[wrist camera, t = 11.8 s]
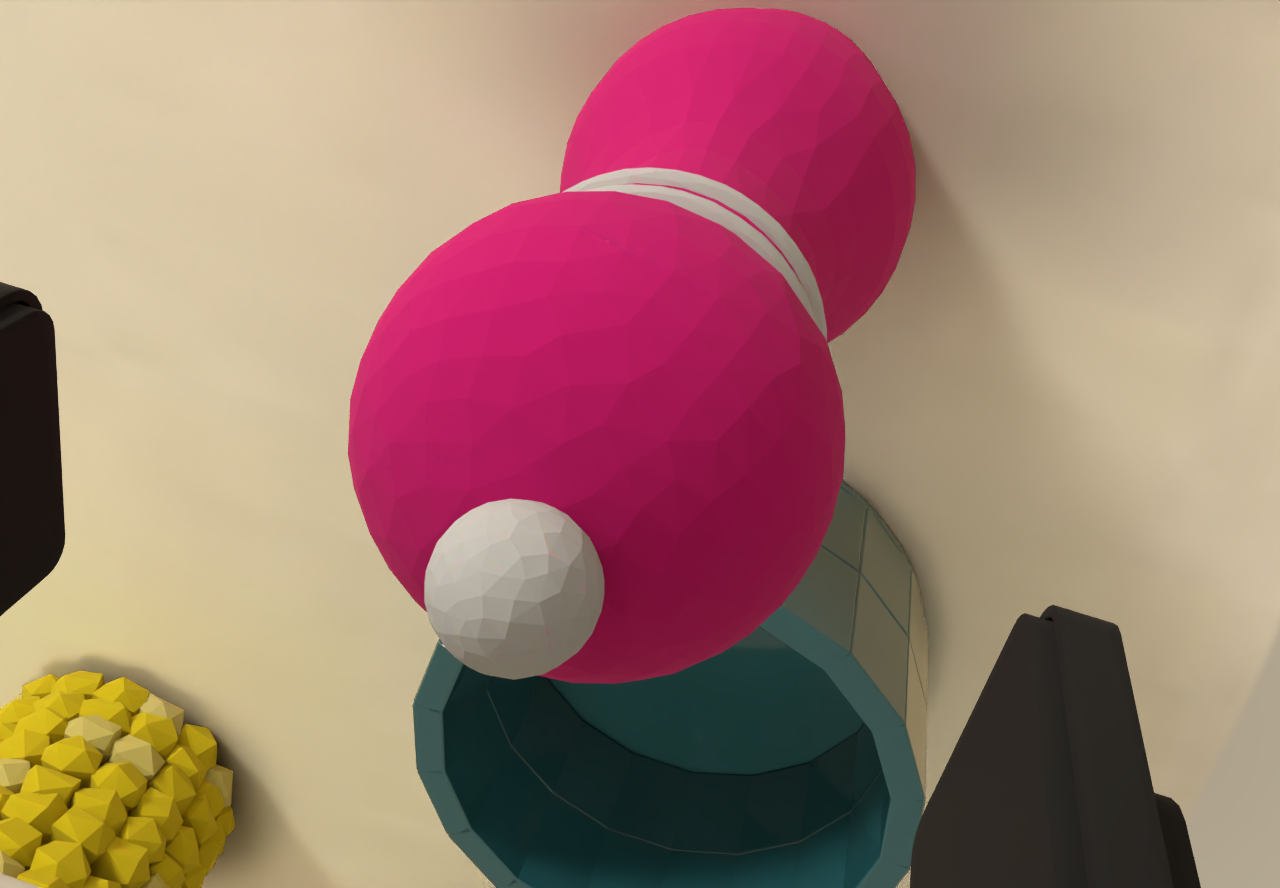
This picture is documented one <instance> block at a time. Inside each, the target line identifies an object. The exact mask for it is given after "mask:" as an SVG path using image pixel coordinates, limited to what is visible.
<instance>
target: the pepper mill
mask: <svg viewBox="0 0 1280 888" xmlns="http://www.w3.org/2000/svg"><path fill="white" fill-rule="evenodd" d="M914 204H915V161H914V157H913V152H912V147H911V142H910V137H909V132H908V130H907V127H906V125H905V122H904V120H903V117H902V115H901V112H900V110H899V107H898V105H897V103H896V102H895V100H894V98H893V97H892V95H891V93H890V92H889V90H888V88H887V87H886V85H885V84H884V82H883V80H882V79H881V77H880V75H879V74H878V72H877V71H876V69H875V68H874V66H873V65H872V63H871V62H870V61H869V59H868V58H867V57H866V55H865V54H864V53H863V52H862V51H861V50H860V49H859V48H858V47H857V46H856V45H855V44H854V43H853V42H852V41H851V40H850V39H849V38H848V37H846V36H845V35H844V34H842V33H841V32H839V31H838V30H837V29H835V28H833V27H832V26H830V25H828V24H826V23H825V22H822V21H819V20H817V19H814V18H812V17H809V16H806V15H803V14H800V13H798V12H793V11H788V10H780V9H756V8H735V9H717V10H712V11H708V12H703V13H699V14H694V15H690V16H687V17H684V18H682V19H680V20H677V21H675V22H672V23H670V24H667V25H665V26H662V27H661V28H659V29H658V30H656V31H654V32H653V33H651V34H650V35H648V36H646V37H645V38H643V39H642V40H640V41H638V42H637V43H636V44H635V45H634V46H633V47H632V48H631V49H629V50H628V51H627V52H626V53H625V54H624V55H623V56H621V57H620V58H619V59H618V60H617V61H616V62H615V64H614V65H613V66H612V67H611V69H610V70H609V71H608V72H607V74H606V75H605V76H604V77H603V79H602V80H601V81H600V82H599V84H598V85H597V86H596V88H595V89H594V90H593V92H592V93H591V94H590V96H589V98H588V100H587V101H586V103H585V105H584V106H583V108H582V110H581V112H580V113H579V115H578V117H577V119H576V122H575V124H574V127H573V130H572V132H571V135H570V137H569V140H568V143H567V148H566V153H565V158H564V163H563V169H562V174H561V187H560V193H558V194H553V195H549V196H544V197H540V198H535V199H531V200H526V201H522V202H517V203H513V204H510V205H508V206H507V207H505V208H503V209H501V210H499V211H497V212H495V213H493V214H491V215H489V216H487V217H485V218H483V219H481V220H479V221H477V222H475V223H473V224H472V225H470V226H469V227H467V228H466V229H464V230H463V231H462V232H460V233H459V234H457V235H456V236H454V237H453V238H452V239H450V240H449V241H447V242H446V243H444V244H443V245H442V246H440V247H439V248H437V249H436V250H434V251H433V252H432V253H430V255H429V256H428V257H427V258H426V259H425V260H424V261H423V262H422V263H421V265H420V266H419V267H418V268H417V269H416V270H415V271H414V272H413V274H412V275H411V276H410V277H409V278H408V279H407V280H406V281H405V282H404V284H403V285H402V286H401V287H400V288H399V289H398V291H397V292H396V294H395V295H394V297H393V299H392V300H391V302H390V303H389V305H388V306H387V308H386V310H385V311H384V313H383V314H382V316H381V318H380V319H379V321H378V323H377V325H376V327H375V330H374V332H373V334H372V336H371V339H370V341H369V343H368V345H367V348H366V350H365V352H364V354H363V357H362V359H361V361H360V365H359V369H358V373H357V376H356V380H355V384H354V388H353V391H352V395H351V399H350V421H349V443H348V456H349V461H350V467H351V473H352V479H353V484H354V489H355V492H356V495H357V498H358V501H359V504H360V506H361V509H362V512H363V515H364V518H365V521H366V523H367V526H368V529H369V532H370V534H371V536H372V538H373V540H374V541H375V543H376V545H377V547H378V549H379V551H380V552H381V554H382V556H383V558H384V560H385V562H386V563H387V565H388V567H389V569H390V570H391V571H392V573H393V574H394V575H395V576H396V578H397V579H398V580H399V581H400V583H401V584H402V585H403V586H404V588H405V589H406V590H407V591H408V593H409V594H410V595H411V596H412V598H413V599H414V600H415V601H416V602H417V603H418V604H419V605H420V606H421V607H422V608H423V609H424V610H425V611H426V612H427V614H428V617H429V621H430V624H431V625H432V627H433V629H434V631H435V632H436V634H437V635H438V637H439V638H440V640H441V641H442V643H443V644H444V646H445V647H446V649H447V650H448V651H449V652H450V653H451V654H452V655H453V656H454V657H455V658H456V659H458V660H459V661H461V662H462V663H463V664H465V665H466V666H468V667H470V668H472V669H474V670H475V671H477V672H479V673H482V674H485V675H490V676H496V677H501V678H507V679H513V680H515V679H521V678H526V677H532V676H542V677H547V678H552V679H556V680H561V681H566V682H571V683H607V684H616V683H623V682H630V681H637V680H644V679H649V678H654V677H659V676H664V675H669V674H674V673H676V672H678V671H681V670H683V669H685V668H688V667H690V666H692V665H695V664H697V663H699V662H701V661H704V660H706V659H708V658H711V657H713V656H715V655H718V654H720V653H722V652H724V651H725V650H727V649H728V648H730V647H731V646H733V645H734V644H736V643H737V642H739V641H740V640H742V639H743V638H745V637H747V636H748V635H750V634H751V633H752V632H753V631H754V630H755V629H756V628H757V627H758V626H759V625H760V624H762V623H763V622H764V621H765V620H766V619H767V618H768V617H769V616H770V615H771V614H773V613H774V612H775V611H776V610H777V609H778V608H779V607H780V606H781V605H782V604H783V603H784V601H785V600H786V599H787V598H788V596H789V595H790V594H791V593H792V591H793V590H794V589H795V588H796V586H797V585H798V584H799V582H800V581H801V579H802V578H803V576H804V575H805V573H806V571H807V570H808V568H809V567H810V565H811V563H812V562H813V560H814V559H815V557H816V555H817V553H818V551H819V549H820V546H821V544H822V542H823V539H824V537H825V535H826V532H827V530H828V528H829V525H830V523H831V521H832V517H833V513H834V509H835V505H836V502H837V498H838V494H839V490H840V486H841V482H842V478H843V470H844V451H845V421H844V410H843V399H842V390H841V387H840V384H839V381H838V377H837V374H836V371H835V368H834V364H833V361H832V358H831V354H830V351H829V348H828V345H827V343H828V342H830V341H831V340H833V339H835V338H836V337H838V336H839V335H841V334H842V333H844V332H845V331H846V330H847V329H848V328H849V327H850V326H851V325H853V324H854V323H855V322H856V321H857V320H858V319H859V318H861V317H862V316H863V315H864V314H865V313H866V312H867V311H868V309H869V308H870V307H871V306H872V304H873V303H874V302H875V301H876V299H877V298H878V297H879V296H880V294H881V293H882V292H883V290H884V288H885V286H886V285H887V283H888V281H889V279H890V278H891V276H892V274H893V272H894V271H895V269H896V266H897V263H898V261H899V258H900V255H901V252H902V250H903V247H904V244H905V241H906V238H907V235H908V233H909V230H910V227H911V221H912V216H913V210H914Z"/></svg>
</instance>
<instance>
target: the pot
mask: <svg viewBox="0 0 1280 888" xmlns="http://www.w3.org/2000/svg"><path fill="white" fill-rule="evenodd" d="M927 687H928V630H927V626H926V622H925V616H924V610H923V604H922V598H921V592H920V589H919V586H918V583H917V580H916V577H915V574H914V571H913V568H912V566H911V564H910V562H909V560H908V558H907V556H906V554H905V552H904V550H903V548H902V546H901V544H900V543H899V542H898V540H897V539H896V537H895V536H894V534H893V533H892V531H891V530H890V528H889V527H888V526H887V524H886V523H885V521H884V520H883V519H882V518H881V517H880V516H879V515H878V514H877V513H876V511H875V510H874V509H873V508H872V507H871V506H870V505H869V504H868V503H867V502H866V500H864V499H863V498H862V497H861V496H860V495H859V494H857V493H856V492H855V491H854V490H853V489H852V488H850V487H849V486H848V485H847V484H846V483H845V482H843V481H842V482H841V486H840V490H839V494H838V498H837V502H836V505H835V509H834V513H833V517H832V521H831V523H830V525H829V528H828V530H827V532H826V535H825V537H824V539H823V542H822V544H821V546H820V549H819V551H818V553H817V555H816V557H815V559H814V560H813V562H812V563H811V565H810V567H809V568H808V570H807V571H806V573H805V575H804V576H803V578H802V579H801V581H800V582H799V584H798V585H797V586H796V588H795V589H794V590H793V591H792V593H791V594H790V595H789V596H788V598H787V599H786V600H785V601H784V603H783V604H782V605H781V606H780V607H779V608H778V609H777V610H776V611H775V612H774V613H773V614H771V615H770V616H769V617H768V618H767V619H766V620H765V621H764V622H763V623H762V624H760V625H759V626H758V627H757V628H756V629H755V630H754V631H753V632H752V633H751V634H750V635H748V636H747V637H745V638H743V639H742V640H740V641H739V642H737V643H736V644H734V645H733V646H731V647H730V648H728V649H727V650H725V651H724V652H722V653H720V654H718V655H715V656H713V657H711V658H708V659H706V660H704V661H701V662H699V663H697V664H695V665H692V666H690V667H688V668H685V669H683V670H681V671H678V672H676V673H674V674H669V675H664V676H659V677H654V678H649V679H644V680H637V681H630V682H623V683H616V684H607V683H571V682H566V681H561V680H556V679H552V678H547V677H542V676H532V677H526V678H521V679H515V680H513V679H507V678H501V677H496V676H490V675H485V674H482V673H479V672H477V671H475V670H474V669H472V668H470V667H468V666H466V665H465V664H463V663H462V662H461V661H459V660H458V659H456V658H455V657H454V656H453V655H452V654H451V653H450V652H449V651H448V650H447V649H446V647H445V646H444V644H443V643H442V641H441V640H440V639H439V640H438V642H437V645H436V647H435V649H434V652H433V654H432V657H431V659H430V662H429V664H428V667H427V669H426V671H425V674H424V676H423V679H422V681H421V684H420V686H419V688H418V691H417V693H416V696H415V698H414V703H413V716H414V732H415V748H416V764H417V770H418V774H419V776H420V778H421V780H422V782H423V784H424V787H425V789H426V791H427V793H428V795H429V797H430V799H431V801H432V803H433V806H434V808H435V810H436V812H437V814H438V816H439V818H440V820H441V822H442V825H443V827H444V829H445V831H446V833H447V834H448V836H449V837H450V838H451V839H452V840H453V842H454V843H455V844H456V845H457V846H458V847H459V848H460V849H461V850H462V851H463V852H464V853H465V854H466V856H467V857H468V858H469V859H470V860H471V861H472V862H473V863H474V864H475V865H476V866H477V867H478V869H479V870H480V871H481V872H482V873H483V874H484V875H485V876H486V877H487V878H488V879H489V880H490V882H491V883H492V884H493V885H494V886H495V887H496V888H895V887H896V886H897V885H898V884H899V882H900V881H901V880H902V879H903V877H904V876H905V875H906V874H907V872H908V871H909V870H910V867H911V856H912V849H913V843H914V839H915V835H916V831H917V828H918V825H919V822H920V820H921V817H922V815H923V810H924V805H925V798H926V739H927Z"/></svg>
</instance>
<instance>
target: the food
mask: <svg viewBox="0 0 1280 888" xmlns="http://www.w3.org/2000/svg"><path fill="white" fill-rule="evenodd" d="M183 720H184V710H183V709H181V708H179V707H177V706H175V705H173V704H171V703H169V702H167V701H165V700H163V699H161V698H159V697H157V696H155V695H153V694H151V693H149V691H148V690H146V689H145V688H143V687H141V686H139V685H137V684H136V683H134V682H132V681H130V680H128V679H127V678H125V677H121V678H119V679H116V680H114V681H111V682H109V683H106V684H104V678H103V674H101V673H94V672H86V671H77V672H74V673H70V674H67V675H63V676H62V677H61V678H59V677H57V676H54V675H51V674H50V675H47V676H45V677H43V678H40V679H38V680H35V681H33V682H31V683H28V684H26V685H23V690H22V694H19V695H18V696H17V697H16V698H15V699H14V700H12V701H11V702H10V703H8V704H7V705H5V706H4V707H2V708H1V709H0V873H2V874H5V875H8V876H10V877H13V878H16V879H19V880H22V881H24V882H27V883H30V884H33V885H36V886H39V887H41V888H201V886H202V884H203V881H204V877H205V876H207V874H208V872H209V871H210V870H211V869H212V867H213V866H214V865H215V864H216V860H217V856H219V855H221V854H223V846H224V845H225V844H226V840H225V837H226V836H227V835H229V834H230V833H231V832H232V831H233V830H234V829H235V828H236V827H235V821H234V815H233V809H232V808H231V807H230V806H229V805H231V797H232V782H233V771H232V770H230V769H227V768H225V767H222V766H220V765H217V764H216V759H217V743H216V741H215V739H214V738H213V736H212V734H211V732H210V730H209V728H206V727H201V726H195V725H190V724H185V725H184V726H183Z"/></svg>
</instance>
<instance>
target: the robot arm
mask: <svg viewBox="0 0 1280 888" xmlns="http://www.w3.org/2000/svg"><path fill="white" fill-rule="evenodd" d="M64 544H65V525H64V505H63V486H62V466H61V447H60V427H59V408H58V388H57V369H56V349H55V330H54V325H53V321H52V319H51V317H50V315H48V314H47V313H46V312H44V311H42V306H41V304H40V302H39V300H38V298H37V296H35V295H34V294H33V293H31V292H30V291H28V290H24V289H21V288H18V287H15V286H11V285H8V284H5V283H2V282H0V616H1V615H2V614H3V613H4V612H6V611H7V610H8V609H9V608H10V607H11V606H13V605H14V604H15V603H16V602H17V601H18V600H20V599H21V598H22V597H23V596H24V595H25V594H27V593H28V592H29V591H30V590H31V589H32V588H34V587H35V586H36V585H37V584H38V583H39V582H41V581H42V580H43V579H44V578H45V577H46V576H47V575H48V574H49V573H50V572H51V571H52V570H53V569H54V567H55V566H56V564H57V563H58V561H59V559H60V557H61V554H62V552H63V548H64ZM0 888H41V887H39V886H36V885H33V884H30V883H27V882H24V881H22V880H19V879H16V878H13V877H10V876H8V875H5V874H2V873H0ZM910 888H1201V886H1200V882H1199V878H1198V874H1197V869H1196V865H1195V860H1194V857H1193V852H1192V848H1191V844H1190V839H1189V835H1188V831H1187V826H1186V822H1185V819H1184V817H1183V814H1182V811H1181V809H1180V806H1179V805H1178V804H1177V803H1176V802H1175V801H1173V800H1172V799H1171V798H1169V797H1165V796H1162V795H1159V794H1156V793H1154V791H1153V786H1152V781H1151V777H1150V772H1149V767H1148V762H1147V757H1146V753H1145V748H1144V743H1143V738H1142V733H1141V729H1140V724H1139V719H1138V714H1137V709H1136V705H1135V700H1134V695H1133V690H1132V686H1131V681H1130V676H1129V671H1128V666H1127V662H1126V657H1125V652H1124V647H1123V642H1122V638H1121V633H1120V631H1119V628H1118V626H1117V625H1115V624H1113V623H1110V622H1107V621H1104V620H1101V619H1097V618H1094V617H1091V616H1088V615H1084V614H1081V613H1078V612H1075V611H1071V610H1068V609H1065V608H1062V607H1058V606H1055V605H1052V606H1049V607H1048V608H1047V609H1046V610H1045V611H1044V612H1043V613H1042V615H1041V617H1040V618H1038V617H1035V616H1032V615H1029V614H1022V615H1021V616H1020V617H1019V618H1018V620H1017V621H1016V623H1015V625H1014V627H1013V629H1012V631H1011V633H1010V635H1009V637H1008V639H1007V641H1006V643H1005V645H1004V647H1003V649H1002V651H1001V654H1000V656H999V658H998V660H997V662H996V664H995V666H994V668H993V670H992V672H991V674H990V676H989V678H988V680H987V683H986V685H985V687H984V689H983V691H982V693H981V695H980V697H979V699H978V701H977V703H976V705H975V707H974V709H973V712H972V714H971V716H970V718H969V720H968V722H967V724H966V726H965V728H964V730H963V732H962V734H961V736H960V738H959V741H958V743H957V745H956V747H955V749H954V751H953V753H952V755H951V757H950V759H949V761H948V763H947V765H946V767H945V770H944V772H943V774H942V776H941V778H940V780H939V782H938V784H937V786H936V788H935V790H934V792H933V794H932V796H931V798H930V801H929V803H928V805H927V807H926V809H925V811H924V813H923V815H922V817H921V820H920V822H919V825H918V828H917V831H916V835H915V839H914V843H913V849H912V856H911V877H910Z"/></svg>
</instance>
